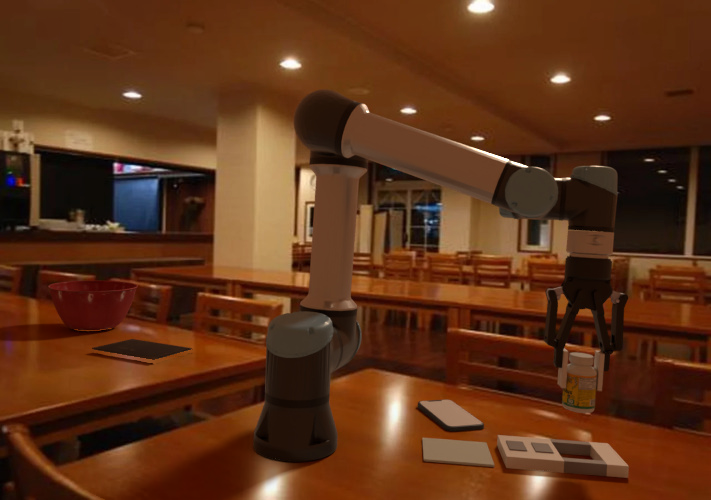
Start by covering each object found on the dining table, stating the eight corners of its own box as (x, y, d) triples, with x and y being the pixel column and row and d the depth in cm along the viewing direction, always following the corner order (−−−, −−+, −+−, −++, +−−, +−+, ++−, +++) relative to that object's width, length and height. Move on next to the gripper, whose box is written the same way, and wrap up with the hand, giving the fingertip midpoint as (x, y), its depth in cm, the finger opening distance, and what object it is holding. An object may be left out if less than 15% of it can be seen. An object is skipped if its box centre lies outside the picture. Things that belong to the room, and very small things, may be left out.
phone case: (486, 432, 115) (450, 405, 130) (487, 424, 114) (450, 398, 130) (447, 435, 112) (415, 407, 127) (447, 427, 112) (415, 400, 127)
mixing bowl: (143, 333, 193) (144, 288, 192) (48, 339, 178) (49, 290, 178) (130, 319, 217) (131, 279, 216) (46, 323, 203) (46, 280, 202)
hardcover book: (153, 366, 153) (154, 358, 153) (91, 355, 162) (91, 347, 162) (192, 355, 167) (192, 347, 167) (133, 345, 177) (134, 338, 176)
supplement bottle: (599, 414, 97) (603, 359, 96) (568, 412, 97) (572, 357, 96) (586, 404, 102) (590, 352, 102) (557, 402, 102) (561, 350, 102)
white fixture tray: (506, 468, 96) (506, 455, 96) (497, 445, 106) (497, 433, 106) (628, 477, 94) (629, 465, 94) (607, 453, 104) (607, 442, 104)
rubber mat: (423, 461, 97) (423, 459, 97) (422, 439, 107) (422, 437, 107) (494, 467, 96) (494, 464, 96) (486, 444, 106) (486, 442, 106)
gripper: (539, 254, 95) (530, 389, 96) (653, 260, 93) (642, 398, 95) (530, 252, 103) (521, 377, 104) (635, 257, 101) (625, 385, 102)
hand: (579, 387), depth 99 cm, fingers closed on supplement bottle, 5 cm apart
